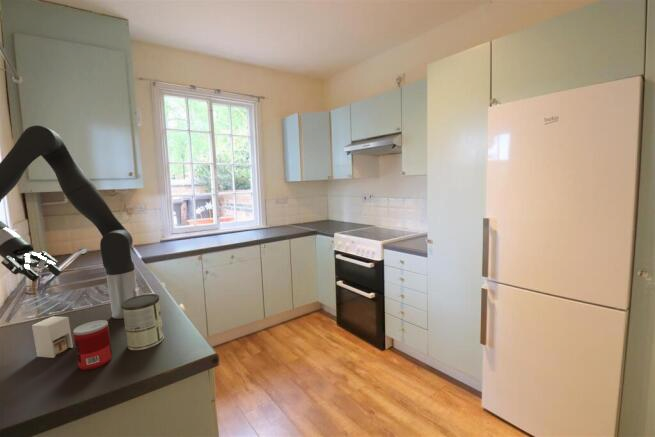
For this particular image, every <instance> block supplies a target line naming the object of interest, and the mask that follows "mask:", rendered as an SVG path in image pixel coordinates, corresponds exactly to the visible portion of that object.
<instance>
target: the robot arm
mask: <svg viewBox="0 0 655 437" xmlns="http://www.w3.org/2000/svg"><path fill="white" fill-rule="evenodd" d="M39 157H42V158H43V159H44V160H45V162H47V164H48V165H49V166H50V168H51V169H52V171H53V172H54V174H55V176H56V179H57V183H58V185H59V186H60V189H61V191H62V192H63V194H64V195H65V197H66V199H67V200H68V201H69V202H70V204H71V205H72V206H73V207H74V208H75V209H76V211H78V213H80V214H81V215H82V216H83V217H85V218H86V219H88V220H89V222H91V223H92V224H93V225H94V226H95V227H96V228H97V230H98V232H99V234H100V235H101V236H102V238H101V239H100V243H99V245H100V247H99V248H100V255H101V260H102V265H103V268H104V269H105V273H106V280H107V281H106V282H107V288H108V295H109V296H108V297H109V302H110V309H111V317H112V318H113V319H118V320H119V319H124V317H123V310H122V306H121V304H122V302H124V301H125V300H127V299H130V298H132V297H136V296H140V293H139V292H140V291H139V286H138V285H137V277H136V270H135V269H136V268H135V263H134V262H133V260H132V254H131V247H132V245H133V242H134V241H133V236H132V234H130V232H129V230H127V228H125V226H124V225H122V223H121V222H120V221H119V220H118V219H117V217H116V216H115V215H114V214H113V211H112V210H111V208H110V207H109V205H108V204H107V202H106V201H105V199H104V198H103V196H102V195H101V193H100V191H99V190H98V189H97V187H96V185H95V184H94V183H93V182H92V181H91V179H90V178H89V176H87V174H86V173H85V172H84V170H83V169H82V168H81V167H80V166H79V165H78V163H77V162H76V160H75V159H74V158H73V156H72V154H71V153H70V151H69V149H68V147H67V145H66V143H65V142H64V140H63V138H62V137H61V136H60V134H59V133H57V131H54V130H53V129H51V128H48V127H47V126H43V125H32V126H29V127H27V128H25V130H24V131H23V132H22V133H21V135H20V136H19V138H18V140H17V141H16V142H15V143H14V145H13V147H12V148H11V149H10V151H9V152H8V153H7V154H6V155H5V157H4V158H3V159H2V161H0V203H1V202H2V200H3V199H4V198H5V197H6V196H7V195H8V194H9V193H10V192H11V191H12V190H13V189H14V188H15V187H16V186H17V184H18V183H19V182H20V180H21V179H22V177H23V175H24V173H25V171H26V170H27V169H28V167H29V166H30V165H31V164H32V163H33V162H34V161H35V160H36V159H38V158H39ZM0 257H1V258H3V259H2V261H0V262H1V263H0V264H2V265H3V266H4V268H6V269H7V270H8V271H9V272H11V273H12V274H13V275H18V274H20V275H23V276H25V277H26V278H27V279H29V280H30V281H31V282H37V281H38V280H39V279H40V274H38V273H37V272H35V271H34V270H33V269H32V268H31V267H36V268H39V269H42V268H43V269H46V270H48V271H49V272H50V274H53V275H54V276H55V277H59V276H60V275H61V274H62V273H63V272H62V270H61V269H60V268H59V267H58V266H57V265H56V264H57V263H58V259H55V257H53V256H51V255H50V254H49V253H47V251H45V250H42V251H41V252H40V253H38V252H36V251H34V246H33V245H32V243H30V242H29V241H28V240H26V239H25V238H24V237H23V236H21V235H20V234H19V233H17V232H16V231H14V230H13V229H12V228H10V226H7V224H5V223H4V222H3V221H1V220H0Z"/></svg>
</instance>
